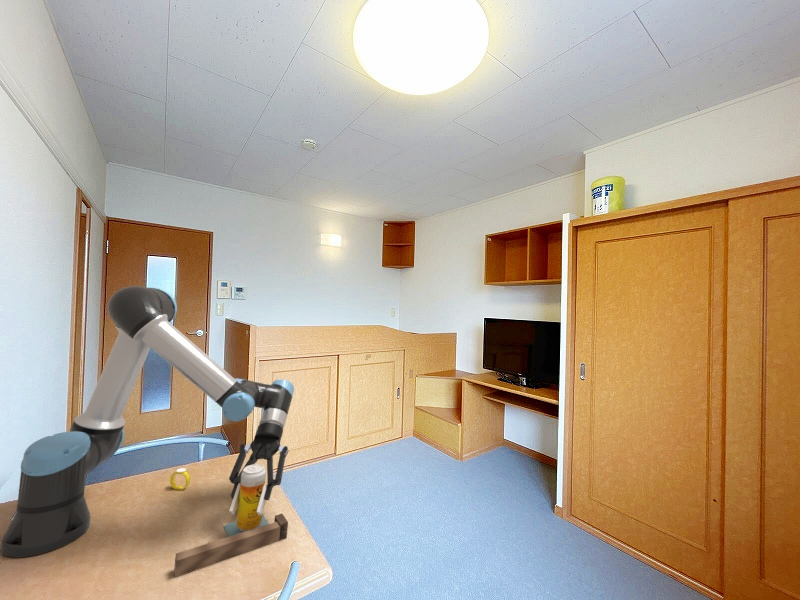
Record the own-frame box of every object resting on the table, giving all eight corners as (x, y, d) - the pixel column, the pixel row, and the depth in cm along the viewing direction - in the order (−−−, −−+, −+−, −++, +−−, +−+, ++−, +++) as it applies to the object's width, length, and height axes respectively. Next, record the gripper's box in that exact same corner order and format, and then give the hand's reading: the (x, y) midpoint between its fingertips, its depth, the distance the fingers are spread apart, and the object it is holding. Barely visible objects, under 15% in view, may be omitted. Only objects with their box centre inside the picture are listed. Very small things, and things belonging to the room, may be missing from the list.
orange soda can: (249, 535, 86) (254, 475, 86) (231, 528, 88) (236, 470, 89) (266, 522, 92) (271, 466, 92) (248, 516, 94) (253, 461, 94)
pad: (231, 545, 84) (231, 544, 84) (223, 526, 91) (224, 525, 91) (271, 532, 90) (272, 530, 90) (262, 514, 97) (262, 513, 97)
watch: (190, 488, 109) (193, 469, 109) (183, 492, 106) (187, 473, 106) (173, 484, 110) (176, 466, 110) (166, 488, 107) (170, 470, 107)
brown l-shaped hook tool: (175, 577, 73) (176, 558, 73) (173, 564, 77) (175, 546, 77) (286, 537, 88) (288, 522, 88) (281, 528, 92) (282, 513, 92)
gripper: (303, 434, 107) (285, 518, 89) (242, 431, 105) (211, 516, 88) (301, 422, 101) (281, 509, 84) (236, 419, 100) (203, 507, 83)
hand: (245, 512), depth 86 cm, fingers closed on orange soda can, 6 cm apart
